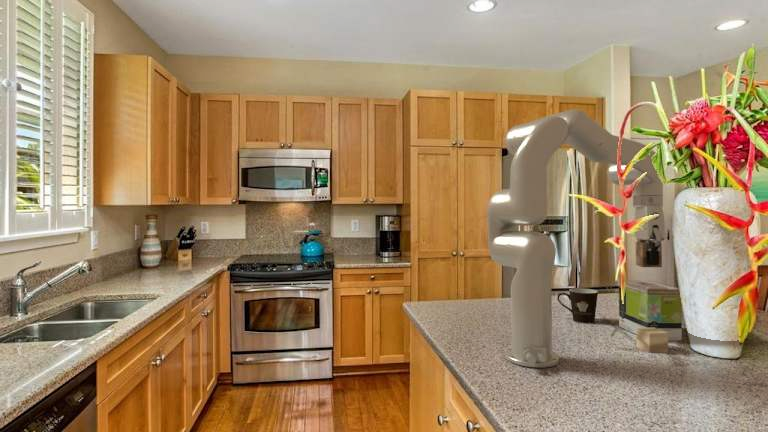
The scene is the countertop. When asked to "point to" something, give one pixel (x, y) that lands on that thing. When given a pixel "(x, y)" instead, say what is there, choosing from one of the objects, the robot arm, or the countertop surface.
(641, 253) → the walnut block
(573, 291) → the coffee mug
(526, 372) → the countertop surface
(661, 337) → the beech block
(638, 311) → the tea box
